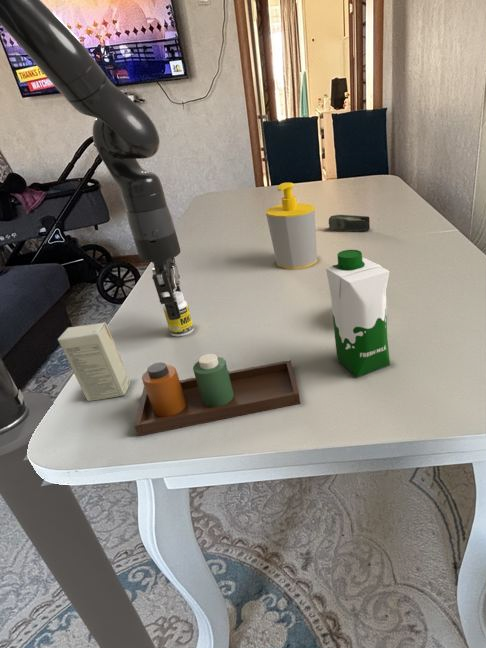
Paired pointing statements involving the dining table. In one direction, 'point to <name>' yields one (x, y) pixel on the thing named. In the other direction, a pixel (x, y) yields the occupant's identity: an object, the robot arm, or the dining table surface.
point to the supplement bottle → (184, 323)
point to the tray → (249, 397)
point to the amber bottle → (164, 389)
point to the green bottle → (213, 380)
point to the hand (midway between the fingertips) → (176, 310)
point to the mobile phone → (349, 223)
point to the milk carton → (359, 312)
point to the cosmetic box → (95, 361)
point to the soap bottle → (292, 231)
